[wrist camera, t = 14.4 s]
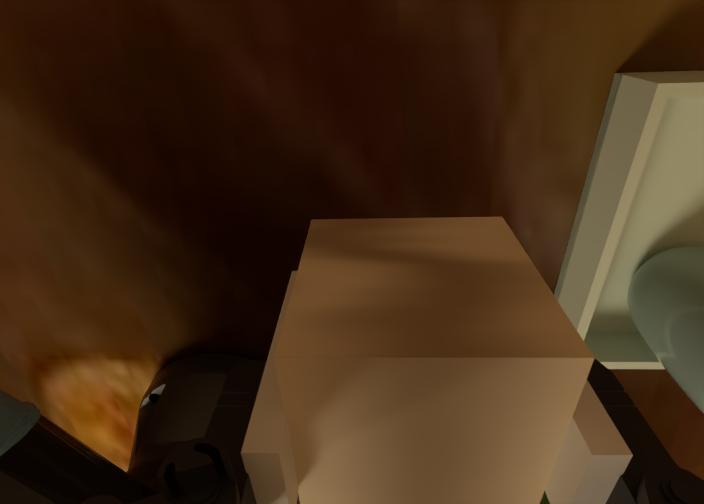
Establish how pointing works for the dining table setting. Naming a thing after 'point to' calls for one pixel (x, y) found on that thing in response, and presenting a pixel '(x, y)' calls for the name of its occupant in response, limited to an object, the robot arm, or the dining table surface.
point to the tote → (634, 207)
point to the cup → (673, 314)
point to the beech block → (425, 364)
